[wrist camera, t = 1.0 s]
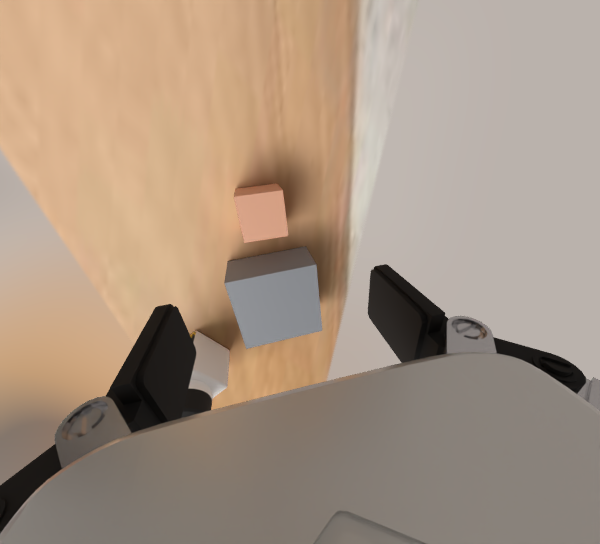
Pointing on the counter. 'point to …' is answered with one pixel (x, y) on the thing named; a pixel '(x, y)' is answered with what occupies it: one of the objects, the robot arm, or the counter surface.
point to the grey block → (274, 296)
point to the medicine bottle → (206, 374)
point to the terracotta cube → (261, 212)
